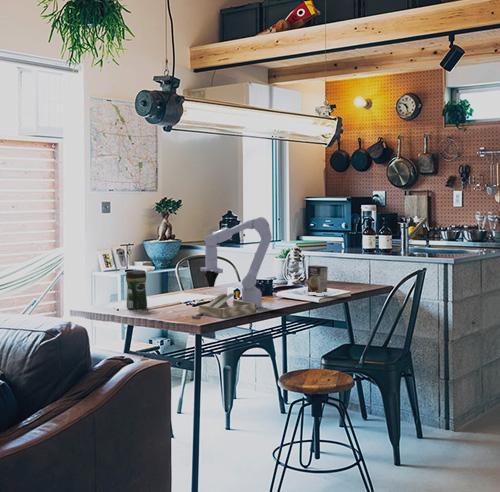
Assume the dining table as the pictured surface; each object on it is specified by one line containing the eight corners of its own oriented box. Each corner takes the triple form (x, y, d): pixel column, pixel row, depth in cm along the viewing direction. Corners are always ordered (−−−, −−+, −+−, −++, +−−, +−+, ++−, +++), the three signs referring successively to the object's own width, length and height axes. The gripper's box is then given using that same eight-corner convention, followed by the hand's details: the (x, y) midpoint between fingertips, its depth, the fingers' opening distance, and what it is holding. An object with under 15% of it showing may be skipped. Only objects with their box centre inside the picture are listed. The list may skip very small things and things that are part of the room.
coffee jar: (140, 306, 339) (139, 268, 338) (149, 308, 333) (149, 270, 332) (123, 308, 332) (122, 270, 331) (132, 310, 327) (132, 271, 325)
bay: (234, 308, 331) (234, 300, 331) (256, 312, 320) (256, 303, 320) (199, 313, 316) (199, 305, 316) (220, 317, 305) (220, 309, 305)
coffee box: (307, 295, 375) (307, 265, 373) (315, 294, 379) (315, 265, 378) (319, 297, 368) (319, 267, 367) (327, 295, 372) (327, 266, 371)
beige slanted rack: (225, 324, 312) (244, 300, 319) (212, 311, 310) (232, 287, 316) (208, 324, 326) (228, 301, 333) (196, 311, 324) (216, 288, 330)
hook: (201, 315, 313) (201, 312, 313) (207, 315, 312) (207, 313, 311) (191, 318, 304) (191, 316, 304) (198, 319, 303) (198, 316, 303)
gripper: (195, 258, 336) (195, 286, 337) (214, 260, 326) (215, 289, 327) (206, 257, 341) (206, 285, 342) (226, 259, 331) (226, 287, 332)
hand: (211, 286), depth 335 cm, fingers closed
